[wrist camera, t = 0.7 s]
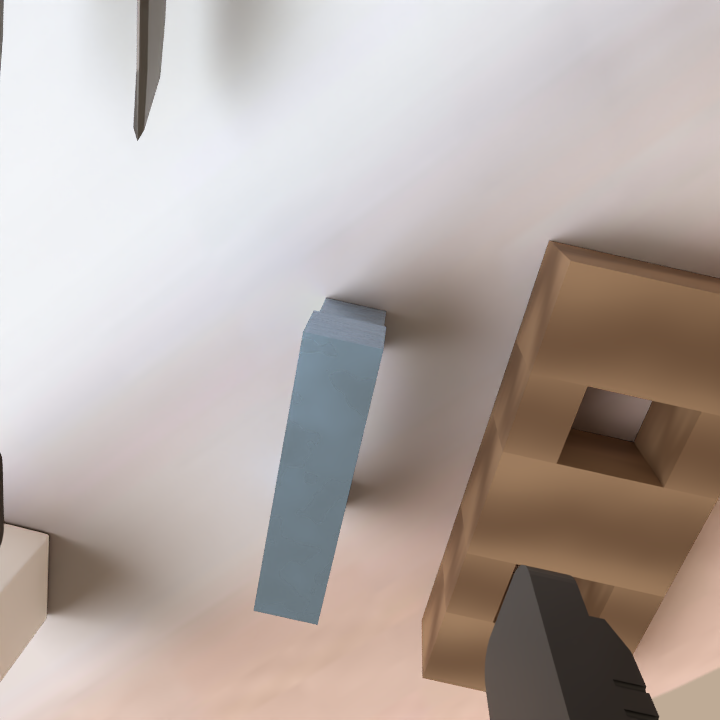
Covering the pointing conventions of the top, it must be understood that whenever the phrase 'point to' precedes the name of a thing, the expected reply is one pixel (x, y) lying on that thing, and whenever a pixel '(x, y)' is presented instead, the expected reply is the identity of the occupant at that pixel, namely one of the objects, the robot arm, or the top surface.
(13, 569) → the milk carton
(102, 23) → the top surface
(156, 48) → the knife set
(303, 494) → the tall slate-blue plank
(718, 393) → the socket block
